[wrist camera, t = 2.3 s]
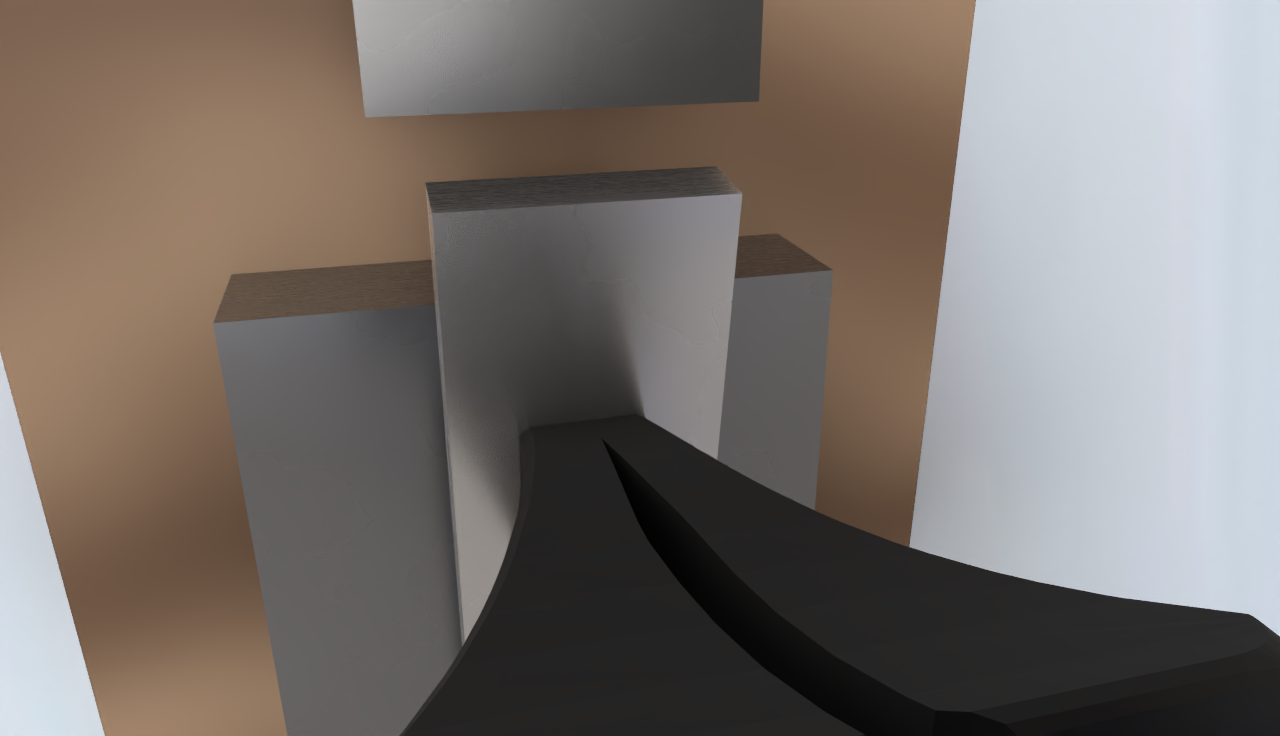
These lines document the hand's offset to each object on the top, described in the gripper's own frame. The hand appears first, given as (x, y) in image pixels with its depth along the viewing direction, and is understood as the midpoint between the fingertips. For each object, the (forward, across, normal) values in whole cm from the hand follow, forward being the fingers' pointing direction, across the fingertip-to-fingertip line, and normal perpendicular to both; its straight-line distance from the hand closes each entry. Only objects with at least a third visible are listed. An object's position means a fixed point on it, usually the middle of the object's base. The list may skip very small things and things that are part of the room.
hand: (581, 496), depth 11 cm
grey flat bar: (+1, 0, +3) cm, 3 cm away
